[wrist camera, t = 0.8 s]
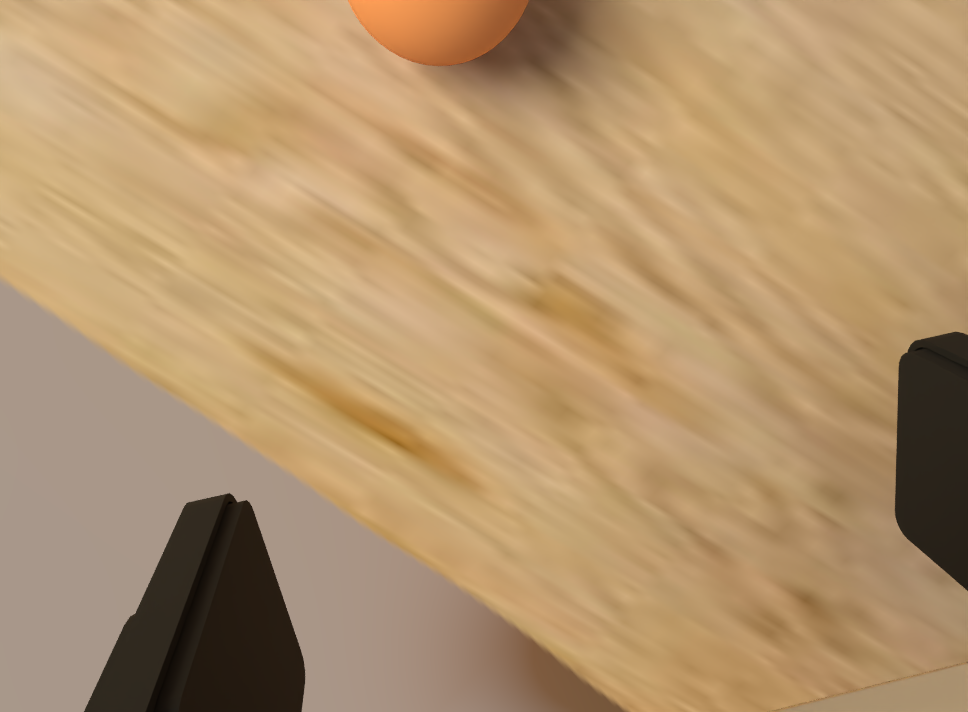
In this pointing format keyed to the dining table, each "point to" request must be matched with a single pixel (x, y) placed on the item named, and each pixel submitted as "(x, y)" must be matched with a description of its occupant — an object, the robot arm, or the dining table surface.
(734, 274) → the dining table surface
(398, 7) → the ball
